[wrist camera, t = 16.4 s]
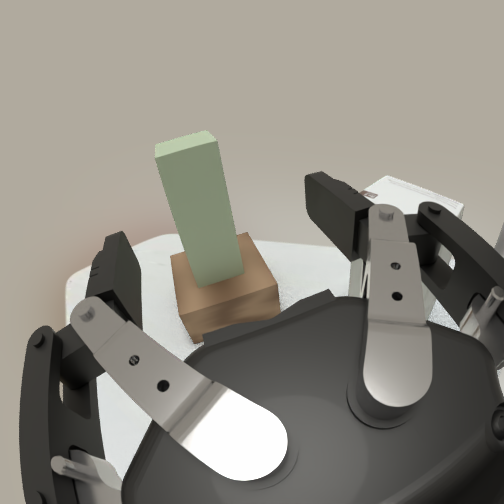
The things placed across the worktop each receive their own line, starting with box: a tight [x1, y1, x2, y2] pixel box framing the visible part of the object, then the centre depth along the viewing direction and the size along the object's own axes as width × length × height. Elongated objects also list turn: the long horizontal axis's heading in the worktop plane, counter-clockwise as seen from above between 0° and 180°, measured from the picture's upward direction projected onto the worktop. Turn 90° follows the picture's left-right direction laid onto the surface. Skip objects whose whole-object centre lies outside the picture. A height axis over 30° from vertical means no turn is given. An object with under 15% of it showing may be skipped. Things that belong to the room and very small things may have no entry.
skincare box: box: [348, 175, 464, 320], centre depth 23 cm, size 8×6×15 cm
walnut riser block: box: [170, 232, 281, 344], centre depth 32 cm, size 10×10×5 cm
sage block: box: [155, 130, 244, 288], centre depth 26 cm, size 5×5×14 cm
